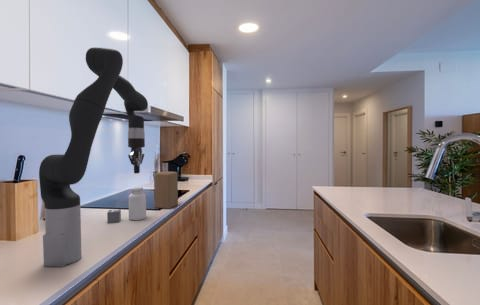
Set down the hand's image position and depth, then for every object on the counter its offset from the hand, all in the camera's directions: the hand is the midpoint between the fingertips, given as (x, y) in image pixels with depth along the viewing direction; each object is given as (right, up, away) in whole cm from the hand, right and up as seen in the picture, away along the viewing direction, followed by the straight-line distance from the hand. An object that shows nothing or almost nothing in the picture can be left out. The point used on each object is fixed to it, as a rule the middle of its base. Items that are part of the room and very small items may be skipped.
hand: (136, 173), depth 127 cm
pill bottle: (0, -22, +1) cm, 22 cm away
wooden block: (+8, -22, +24) cm, 33 cm away
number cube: (-9, -23, -4) cm, 25 cm away
